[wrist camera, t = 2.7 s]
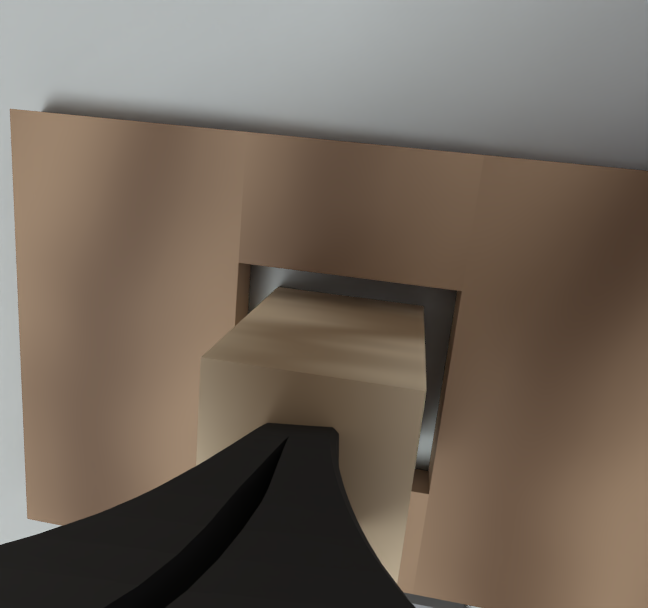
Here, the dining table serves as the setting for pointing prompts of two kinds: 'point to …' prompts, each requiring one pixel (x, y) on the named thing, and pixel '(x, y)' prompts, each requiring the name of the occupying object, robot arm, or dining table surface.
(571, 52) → the dining table surface
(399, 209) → the walnut pocket board
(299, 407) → the beech block
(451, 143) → the dining table surface
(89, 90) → the dining table surface
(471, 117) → the dining table surface
